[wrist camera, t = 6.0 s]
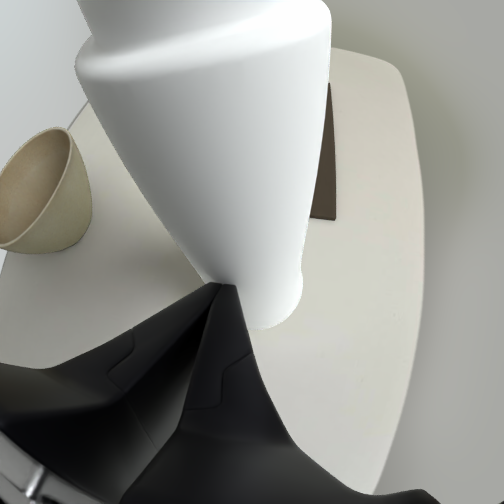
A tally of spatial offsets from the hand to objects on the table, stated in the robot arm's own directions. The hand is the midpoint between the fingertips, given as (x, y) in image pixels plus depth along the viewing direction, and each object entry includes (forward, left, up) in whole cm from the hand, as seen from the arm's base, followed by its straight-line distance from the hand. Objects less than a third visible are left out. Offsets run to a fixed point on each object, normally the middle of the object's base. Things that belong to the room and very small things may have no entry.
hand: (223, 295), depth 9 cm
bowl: (-12, +13, -9) cm, 20 cm away
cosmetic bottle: (+1, +2, -9) cm, 9 cm away
